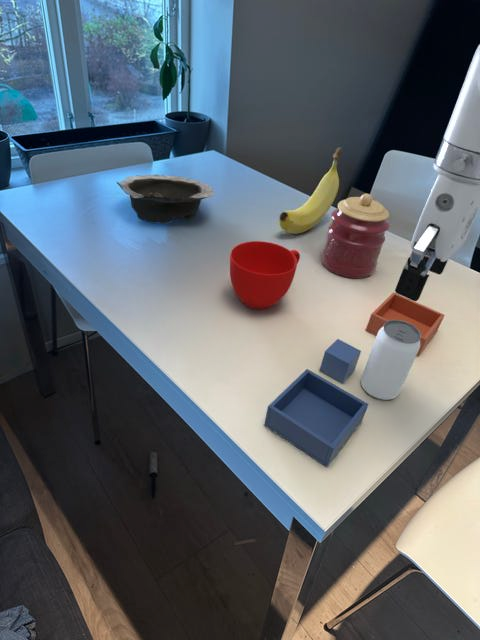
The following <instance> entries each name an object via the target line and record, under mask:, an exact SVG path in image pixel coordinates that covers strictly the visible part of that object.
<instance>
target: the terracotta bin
mask: <svg viewBox="0 0 480 640" xmlns="http://www.w3.org/2000/svg"><path fill="white" fill-rule="evenodd" d="M445 316H446V315H445V314H444V313H442V312H439V311H437V310H435V309H432V308H430V307H428V306H425V305H423V304H421V303H420V302H417V301H413V300H411V299H408V298H406V297H404V296H402V295H400V294H397V293H396V292H395V291H393V292H392V293H391V294H390V295H389V296H388V297H386V299H384V301H383V302H382V303H381V304H379V306H378V307H377V308H375V309H374V310H373V312H371V314H370V316H369V319H368V321H367V322H368V323H367V325H366V328H365V331H366V332H367V333H369V334H371V335H374V336H377V334H378V332H379V330H380V329H381V328H382V327H383V326H384V323H385V322H387V321H389V320H401V321H405V322H408V323H410V324H412V325H413V326H415V327H416V328H417V329H418V330H419V331H420V333H421V339H420V348H419V351H418V353H417V355H416V357H420V355H421V354H422V352H423V351H424V350H425V348H426V347H427V346H428V344H429V343H430V342H431V340H432V339H433V337H434V336H435V335H436V333H437V332H438V330H439V328H440V326H441V324H442V322H443V320H444V317H445Z"/></svg>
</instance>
